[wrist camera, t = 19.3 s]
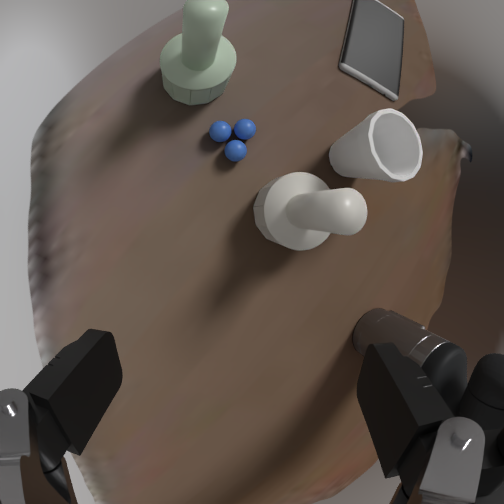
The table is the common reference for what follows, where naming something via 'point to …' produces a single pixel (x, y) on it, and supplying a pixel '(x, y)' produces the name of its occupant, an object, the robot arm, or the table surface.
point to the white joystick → (307, 211)
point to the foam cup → (379, 148)
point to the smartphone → (374, 46)
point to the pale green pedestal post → (198, 54)
